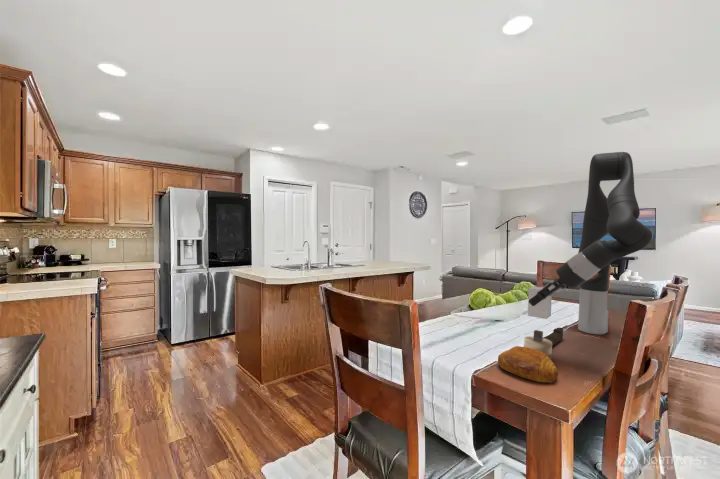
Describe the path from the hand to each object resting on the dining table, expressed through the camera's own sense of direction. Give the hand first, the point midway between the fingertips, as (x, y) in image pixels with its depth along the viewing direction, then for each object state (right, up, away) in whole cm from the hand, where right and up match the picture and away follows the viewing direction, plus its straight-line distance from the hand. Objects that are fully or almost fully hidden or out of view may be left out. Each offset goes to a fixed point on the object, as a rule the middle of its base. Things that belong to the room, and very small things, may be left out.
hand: (533, 302), depth 108 cm
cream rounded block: (+1, -17, -1) cm, 18 cm away
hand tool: (+13, -18, +11) cm, 24 cm away
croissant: (-8, -18, -13) cm, 24 cm away
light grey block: (+1, -4, -1) cm, 5 cm away
